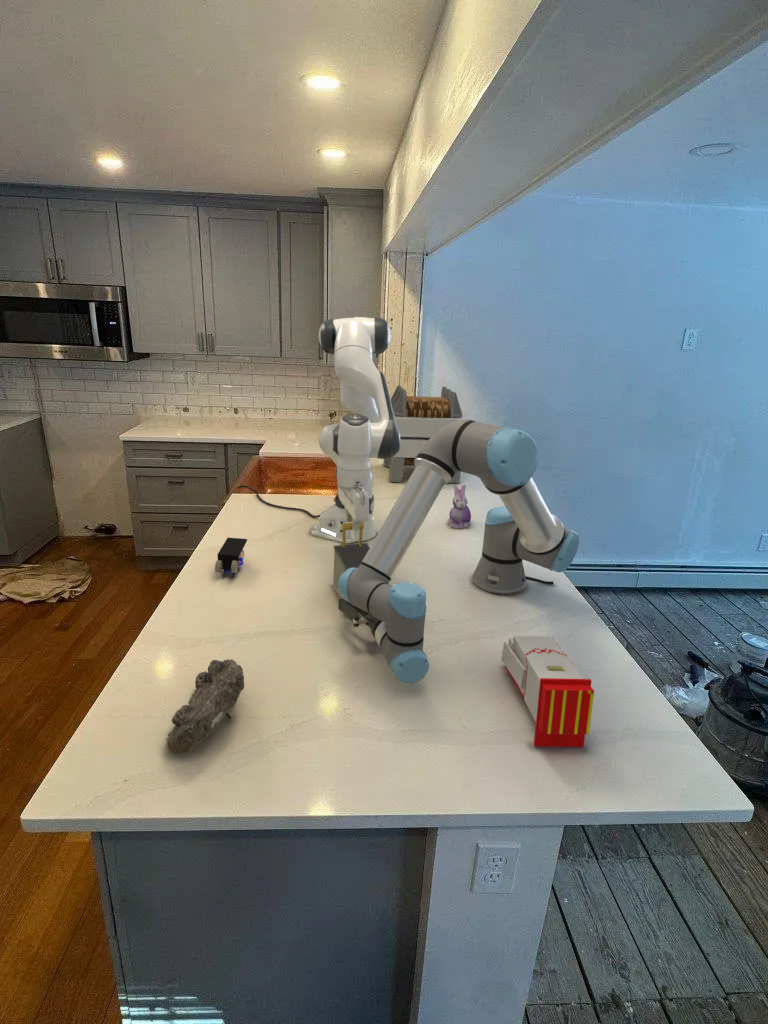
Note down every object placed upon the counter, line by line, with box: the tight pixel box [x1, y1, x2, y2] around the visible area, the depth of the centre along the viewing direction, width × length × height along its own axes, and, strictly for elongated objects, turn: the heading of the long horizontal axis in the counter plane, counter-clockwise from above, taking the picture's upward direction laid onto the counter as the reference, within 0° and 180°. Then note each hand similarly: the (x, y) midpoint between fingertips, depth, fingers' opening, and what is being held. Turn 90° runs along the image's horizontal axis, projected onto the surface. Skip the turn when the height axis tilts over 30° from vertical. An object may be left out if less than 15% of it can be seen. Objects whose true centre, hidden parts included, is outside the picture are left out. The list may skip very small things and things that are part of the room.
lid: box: [333, 522, 371, 570], centre depth 150 cm, size 18×10×8 cm, turn 17°
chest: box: [333, 549, 346, 599], centre depth 152 cm, size 18×10×11 cm, turn 17°
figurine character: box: [214, 537, 248, 578], centre depth 166 cm, size 7×8×15 cm
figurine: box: [448, 484, 472, 529], centre depth 208 cm, size 9×10×15 cm
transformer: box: [383, 384, 465, 484], centre depth 268 cm, size 34×33×41 cm
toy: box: [501, 635, 595, 748], centre depth 115 cm, size 12×13×30 cm
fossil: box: [166, 658, 245, 754], centre depth 106 cm, size 22×10×15 cm
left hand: (352, 525), depth 155 cm, fingers open, 5 cm apart
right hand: (363, 586), depth 147 cm, fingers closed on chest, 9 cm apart
